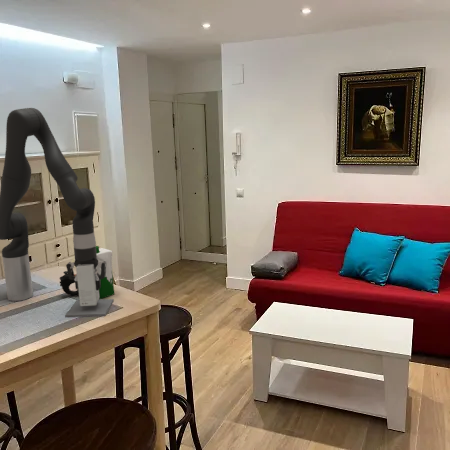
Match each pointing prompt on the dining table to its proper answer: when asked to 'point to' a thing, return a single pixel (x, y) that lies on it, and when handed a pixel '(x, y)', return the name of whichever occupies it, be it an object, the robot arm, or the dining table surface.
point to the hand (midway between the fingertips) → (88, 289)
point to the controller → (67, 284)
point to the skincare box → (87, 285)
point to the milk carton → (107, 282)
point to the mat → (90, 309)
